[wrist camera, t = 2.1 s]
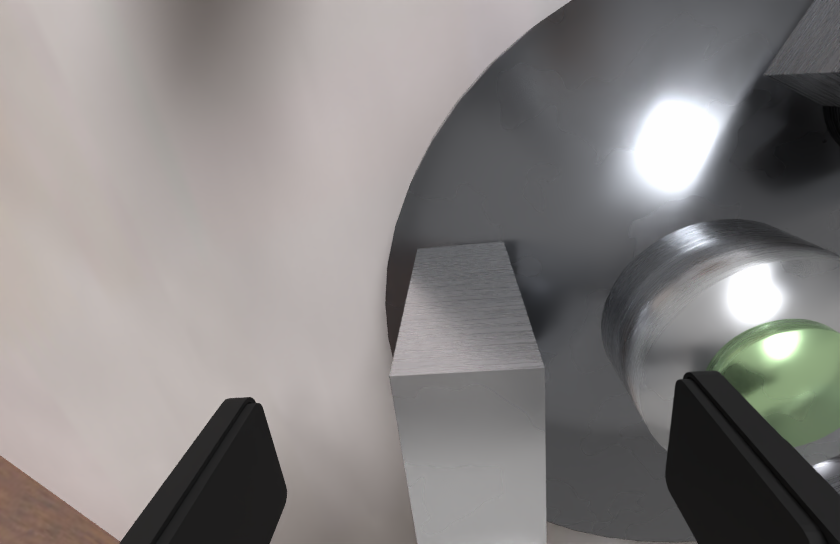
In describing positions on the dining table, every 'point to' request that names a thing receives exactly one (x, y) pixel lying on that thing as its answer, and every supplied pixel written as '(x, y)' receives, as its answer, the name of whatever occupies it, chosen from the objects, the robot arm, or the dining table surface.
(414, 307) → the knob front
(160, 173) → the dining table surface
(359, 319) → the dining table surface
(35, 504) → the tissue box cover
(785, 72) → the knob
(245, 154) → the dining table surface
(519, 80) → the levelling plate
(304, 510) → the dining table surface
